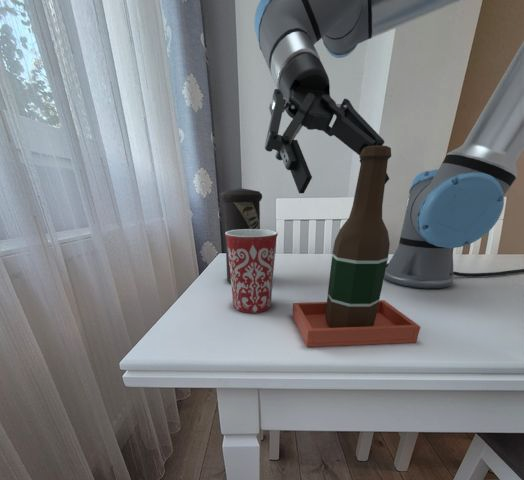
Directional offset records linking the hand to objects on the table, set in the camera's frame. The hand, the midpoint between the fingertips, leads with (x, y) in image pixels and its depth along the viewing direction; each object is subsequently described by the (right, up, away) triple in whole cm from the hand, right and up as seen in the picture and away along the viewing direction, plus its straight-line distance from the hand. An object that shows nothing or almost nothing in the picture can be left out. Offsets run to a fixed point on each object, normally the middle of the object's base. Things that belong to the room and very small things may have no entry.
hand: (345, 186), depth 43 cm
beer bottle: (+2, -20, +5) cm, 21 cm away
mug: (-14, -15, +16) cm, 26 cm away
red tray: (+2, -20, +5) cm, 21 cm away
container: (-17, -7, +30) cm, 35 cm away
